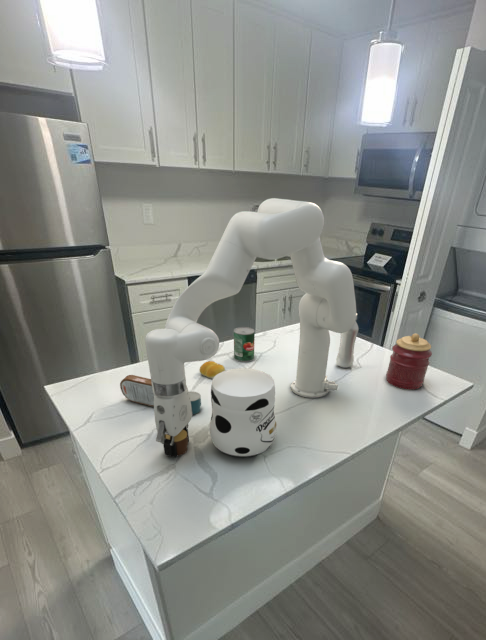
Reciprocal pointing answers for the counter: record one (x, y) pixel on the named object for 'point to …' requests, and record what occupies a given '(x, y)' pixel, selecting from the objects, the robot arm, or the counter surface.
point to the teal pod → (195, 402)
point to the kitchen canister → (409, 362)
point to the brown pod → (180, 442)
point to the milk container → (243, 412)
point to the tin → (138, 389)
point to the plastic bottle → (347, 347)
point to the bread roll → (211, 369)
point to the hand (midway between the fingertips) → (177, 447)
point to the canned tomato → (244, 344)
